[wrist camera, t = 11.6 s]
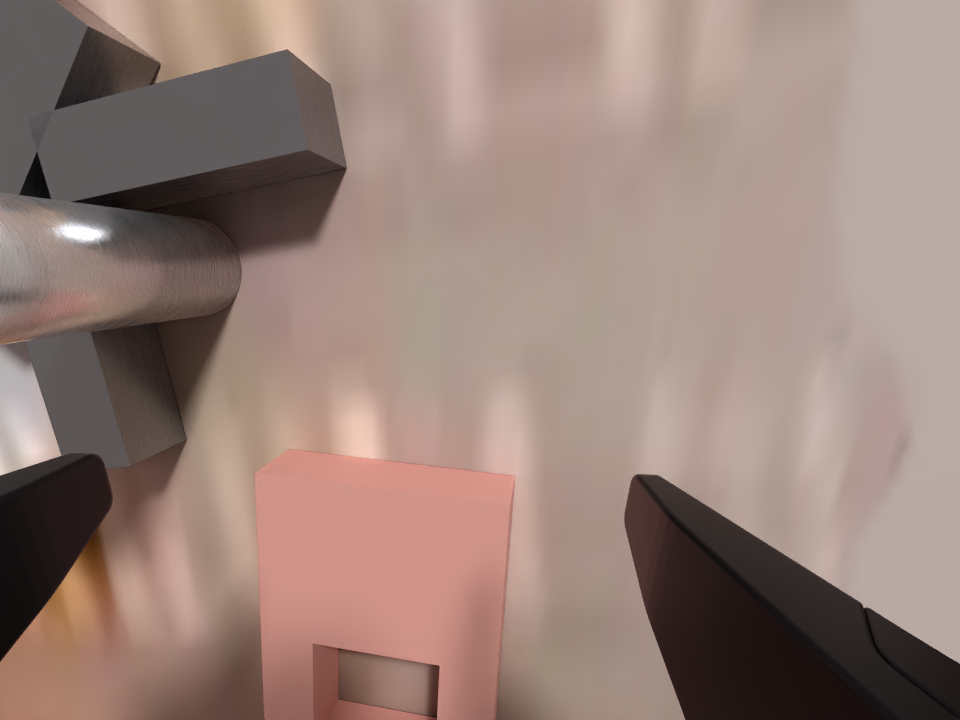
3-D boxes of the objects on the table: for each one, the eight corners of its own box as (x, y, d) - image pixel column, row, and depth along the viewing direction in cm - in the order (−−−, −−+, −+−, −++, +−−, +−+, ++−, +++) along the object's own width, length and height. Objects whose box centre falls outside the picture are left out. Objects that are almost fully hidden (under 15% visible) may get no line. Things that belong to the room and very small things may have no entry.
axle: (259, 283, 20) (-250, 314, 7) (191, 332, 21) (-368, 436, 8) (203, 198, 20) (-433, 76, 7) (137, 252, 20) (-534, 231, 8)
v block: (375, 118, 18) (341, 90, 15) (166, 473, 22) (108, 504, 19) (89, -96, 18) (-1, -167, 15) (-63, 300, 22) (-155, 306, 19)
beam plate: (289, 449, 21) (255, 472, 19) (515, 476, 20) (510, 505, 17) (297, 807, 25) (269, 865, 23) (485, 850, 24) (477, 916, 21)
